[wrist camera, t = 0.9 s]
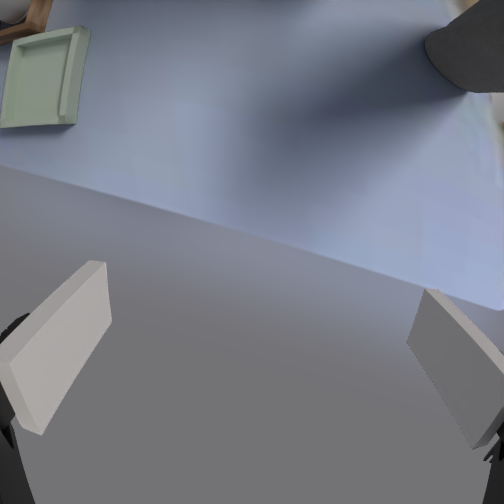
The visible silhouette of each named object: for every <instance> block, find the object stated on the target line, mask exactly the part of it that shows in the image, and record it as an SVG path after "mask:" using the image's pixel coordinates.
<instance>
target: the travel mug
mask: <svg viewBox="0 0 504 504" xmlns="http://www.w3.org/2000/svg"><path fill="white" fill-rule="evenodd" d="M31 1H32V0H0V21H3V22H6V23H9V24H11V25H19V24H22V23H24V22H25V21H26V18H27V14H28V11H29V8H30V4H31Z"/></svg>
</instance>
